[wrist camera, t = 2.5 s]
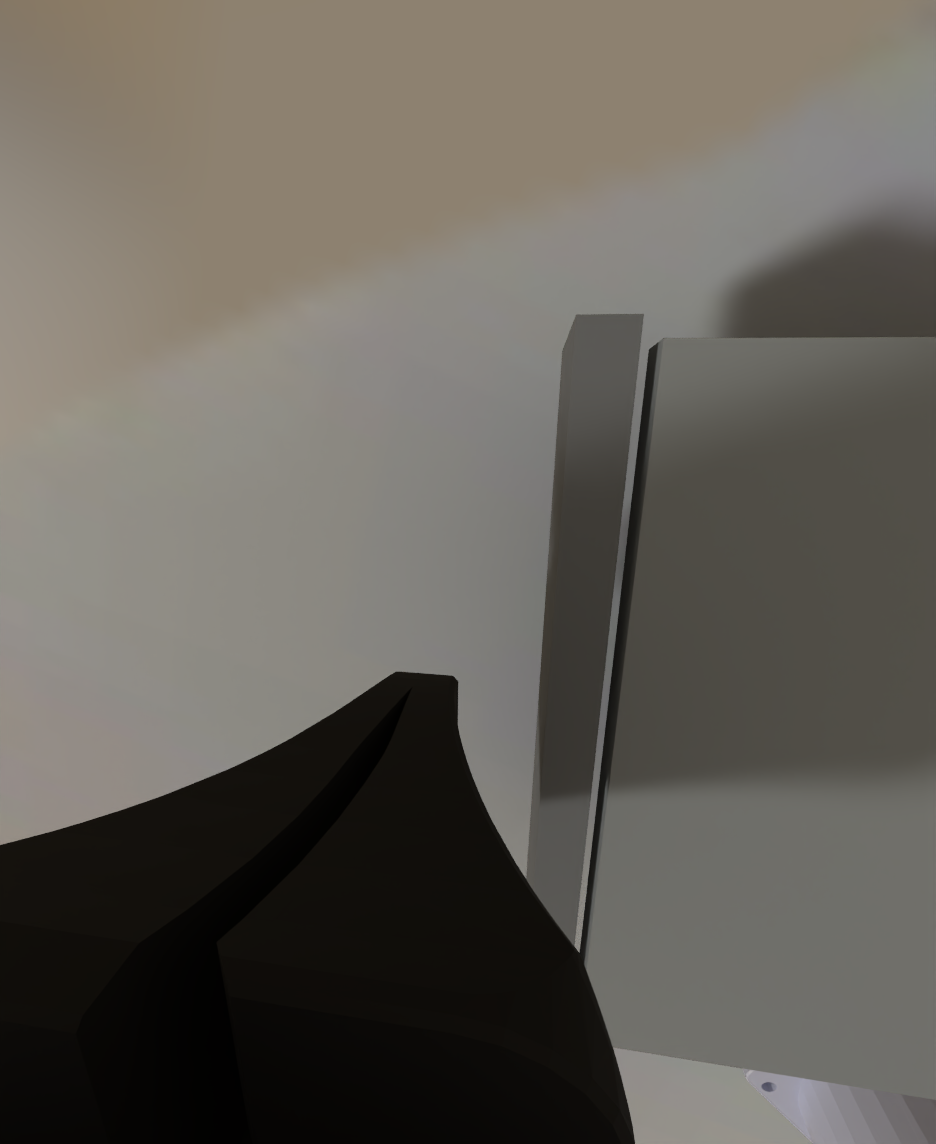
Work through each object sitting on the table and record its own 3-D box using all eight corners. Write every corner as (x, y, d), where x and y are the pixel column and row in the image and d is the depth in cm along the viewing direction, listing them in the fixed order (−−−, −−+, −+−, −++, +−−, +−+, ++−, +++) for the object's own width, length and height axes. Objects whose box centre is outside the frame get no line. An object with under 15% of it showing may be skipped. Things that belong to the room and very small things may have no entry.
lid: (1402, 348, 7) (1844, 301, 5) (1064, 1000, 11) (1215, 1156, 9) (562, 351, 9) (576, 314, 6) (523, 925, 13) (521, 1041, 10)
